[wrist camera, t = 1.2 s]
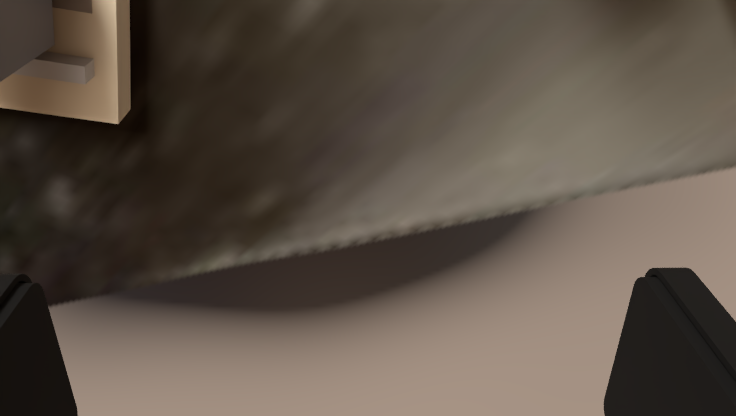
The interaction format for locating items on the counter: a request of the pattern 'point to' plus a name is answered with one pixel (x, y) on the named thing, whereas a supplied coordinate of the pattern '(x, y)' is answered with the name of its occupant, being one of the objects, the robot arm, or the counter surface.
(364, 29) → the counter surface
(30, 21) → the fader knob
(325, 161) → the counter surface
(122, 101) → the fader board
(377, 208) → the counter surface
